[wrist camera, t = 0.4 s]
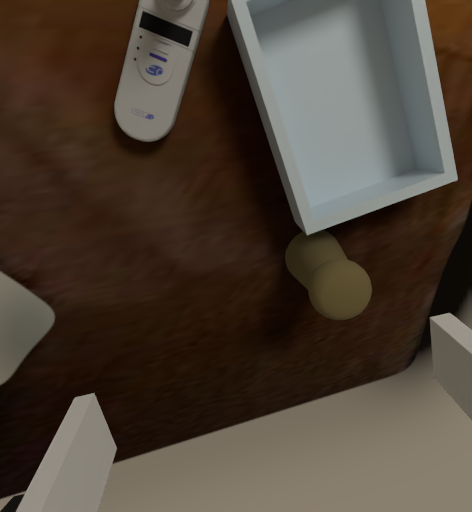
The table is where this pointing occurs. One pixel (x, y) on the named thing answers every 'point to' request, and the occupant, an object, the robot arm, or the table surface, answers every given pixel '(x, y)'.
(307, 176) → the tote
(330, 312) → the cork
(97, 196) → the table surface
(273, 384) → the table surface
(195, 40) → the electronic device
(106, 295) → the table surface
